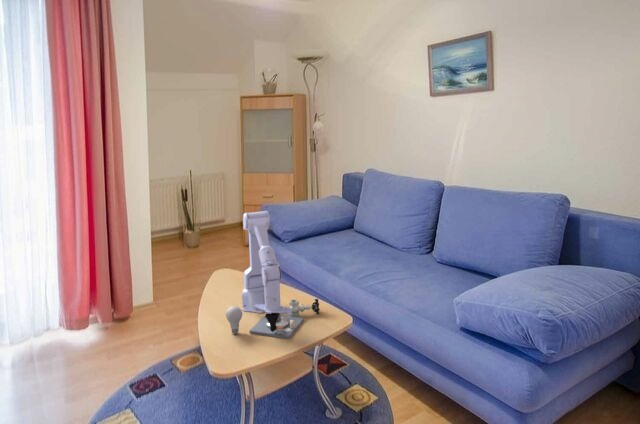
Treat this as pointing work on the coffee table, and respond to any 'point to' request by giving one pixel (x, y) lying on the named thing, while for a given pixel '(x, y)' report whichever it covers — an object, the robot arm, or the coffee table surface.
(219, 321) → the coffee table surface
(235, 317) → the lightbulb
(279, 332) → the silver lidded pan
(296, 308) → the valve
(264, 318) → the board
